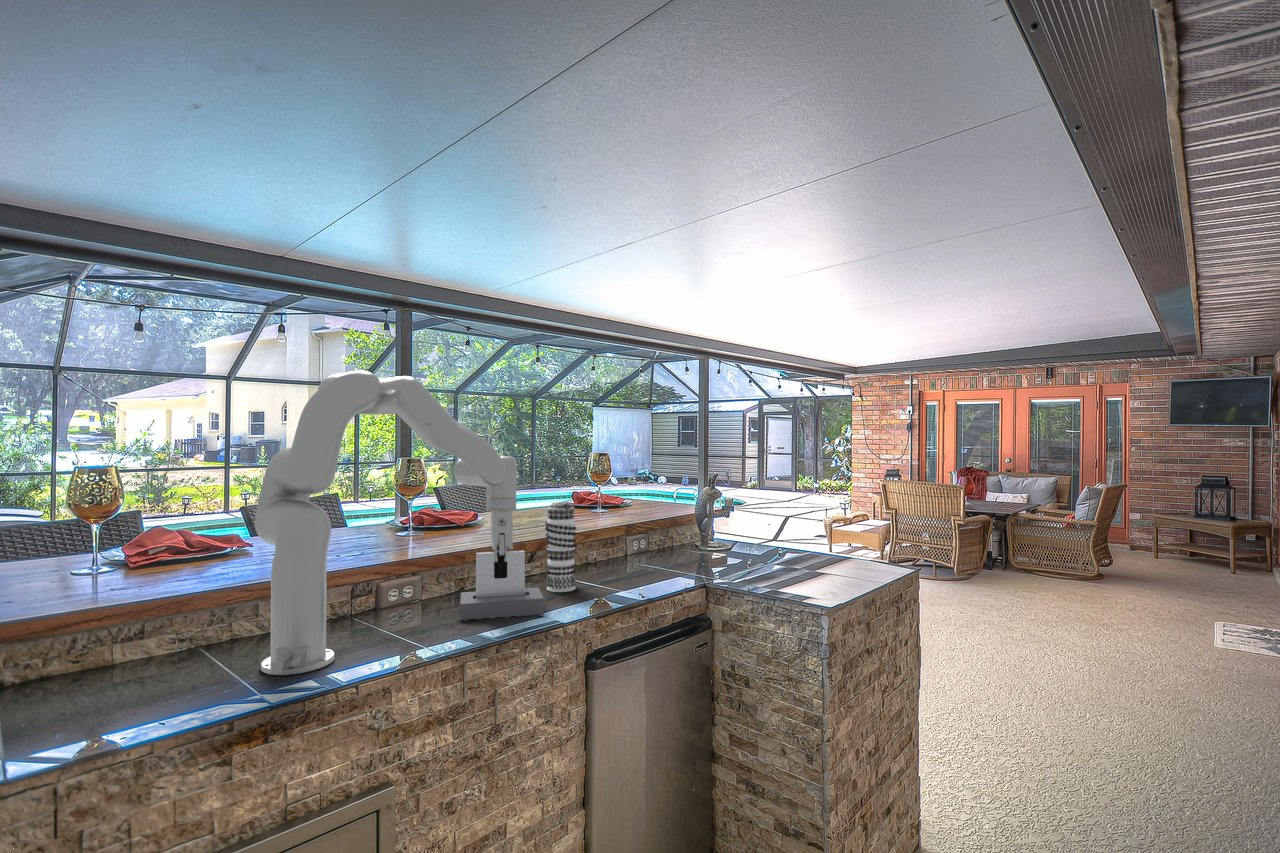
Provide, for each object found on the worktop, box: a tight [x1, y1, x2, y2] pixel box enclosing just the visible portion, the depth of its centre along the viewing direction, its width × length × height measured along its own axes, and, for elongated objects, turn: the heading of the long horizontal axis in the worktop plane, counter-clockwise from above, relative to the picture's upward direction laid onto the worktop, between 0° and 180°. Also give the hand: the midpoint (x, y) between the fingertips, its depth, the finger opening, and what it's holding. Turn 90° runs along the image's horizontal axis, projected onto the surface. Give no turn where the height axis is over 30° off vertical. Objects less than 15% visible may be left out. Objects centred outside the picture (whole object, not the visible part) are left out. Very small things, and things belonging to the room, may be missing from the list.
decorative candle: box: [544, 501, 577, 593], centre depth 184 cm, size 9×9×25 cm
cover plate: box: [475, 550, 526, 598], centre depth 160 cm, size 2×12×11 cm, turn 105°
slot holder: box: [459, 586, 545, 621], centre depth 160 cm, size 12×20×4 cm, turn 105°
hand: (500, 576), depth 160 cm, fingers closed on cover plate, 1 cm apart
